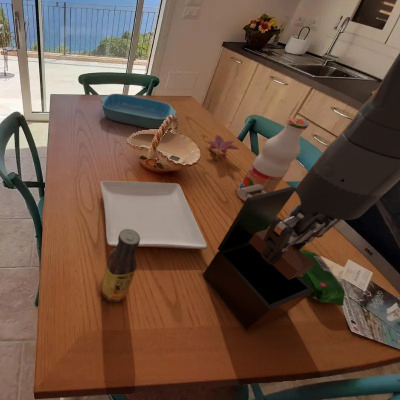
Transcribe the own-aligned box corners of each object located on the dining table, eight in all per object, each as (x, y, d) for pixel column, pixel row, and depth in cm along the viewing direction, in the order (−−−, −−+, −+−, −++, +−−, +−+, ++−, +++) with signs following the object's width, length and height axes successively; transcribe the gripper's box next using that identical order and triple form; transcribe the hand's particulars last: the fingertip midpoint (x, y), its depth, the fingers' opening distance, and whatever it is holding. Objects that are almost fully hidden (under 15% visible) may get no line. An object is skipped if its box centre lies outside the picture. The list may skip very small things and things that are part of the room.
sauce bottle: (112, 309, 61) (127, 256, 47) (95, 288, 64) (104, 234, 51) (132, 293, 64) (152, 240, 50) (115, 274, 67) (129, 220, 54)
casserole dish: (173, 116, 139) (178, 102, 134) (170, 135, 123) (174, 121, 118) (105, 103, 146) (107, 90, 142) (93, 120, 130) (95, 106, 126)
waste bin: (287, 312, 62) (314, 290, 56) (246, 330, 59) (269, 309, 52) (240, 261, 72) (258, 238, 66) (202, 274, 69) (217, 251, 62)
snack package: (303, 255, 75) (315, 243, 71) (340, 309, 63) (356, 298, 60) (277, 253, 75) (288, 241, 72) (310, 307, 63) (324, 296, 60)
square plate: (106, 253, 72) (107, 244, 69) (99, 188, 92) (100, 179, 90) (204, 255, 73) (209, 246, 70) (176, 190, 93) (179, 182, 91)
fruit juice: (266, 209, 88) (321, 132, 70) (235, 200, 91) (281, 124, 72) (264, 193, 95) (315, 118, 76) (236, 185, 98) (278, 111, 79)
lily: (237, 164, 110) (244, 140, 108) (225, 161, 102) (232, 136, 100) (208, 159, 119) (215, 137, 116) (195, 156, 111) (202, 133, 109)
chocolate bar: (305, 272, 43) (315, 263, 41) (288, 280, 42) (297, 271, 40) (264, 236, 49) (272, 227, 47) (248, 242, 47) (255, 232, 46)
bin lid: (296, 188, 55) (274, 173, 59) (250, 200, 51) (229, 184, 55) (260, 238, 65) (243, 223, 69) (219, 251, 61) (203, 234, 65)
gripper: (345, 206, 29) (264, 288, 40) (418, 181, 33) (326, 262, 45) (284, 167, 34) (227, 250, 46) (354, 150, 38) (286, 230, 50)
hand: (276, 255), depth 45 cm, fingers closed on chocolate bar, 4 cm apart
